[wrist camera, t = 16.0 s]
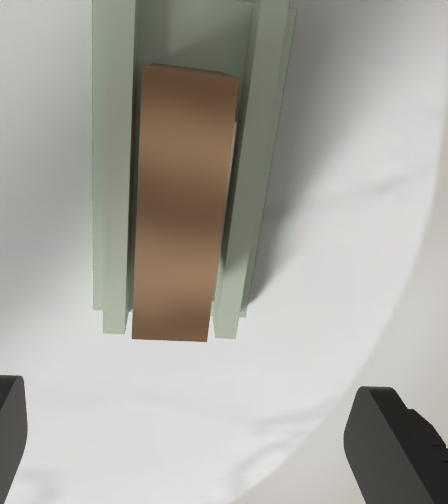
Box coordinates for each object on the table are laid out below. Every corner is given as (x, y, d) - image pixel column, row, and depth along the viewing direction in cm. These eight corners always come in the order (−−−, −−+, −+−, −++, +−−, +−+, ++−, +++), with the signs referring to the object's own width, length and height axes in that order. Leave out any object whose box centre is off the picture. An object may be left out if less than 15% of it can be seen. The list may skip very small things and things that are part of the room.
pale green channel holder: (242, 307, 36) (251, 339, 32) (96, 299, 34) (85, 332, 30) (291, 11, 27) (311, 3, 23) (96, -19, 25) (81, -33, 21)
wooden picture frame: (203, 270, 33) (212, 342, 24) (143, 266, 32) (131, 339, 24) (225, 72, 27) (246, 79, 19) (153, 63, 26) (142, 66, 18)
